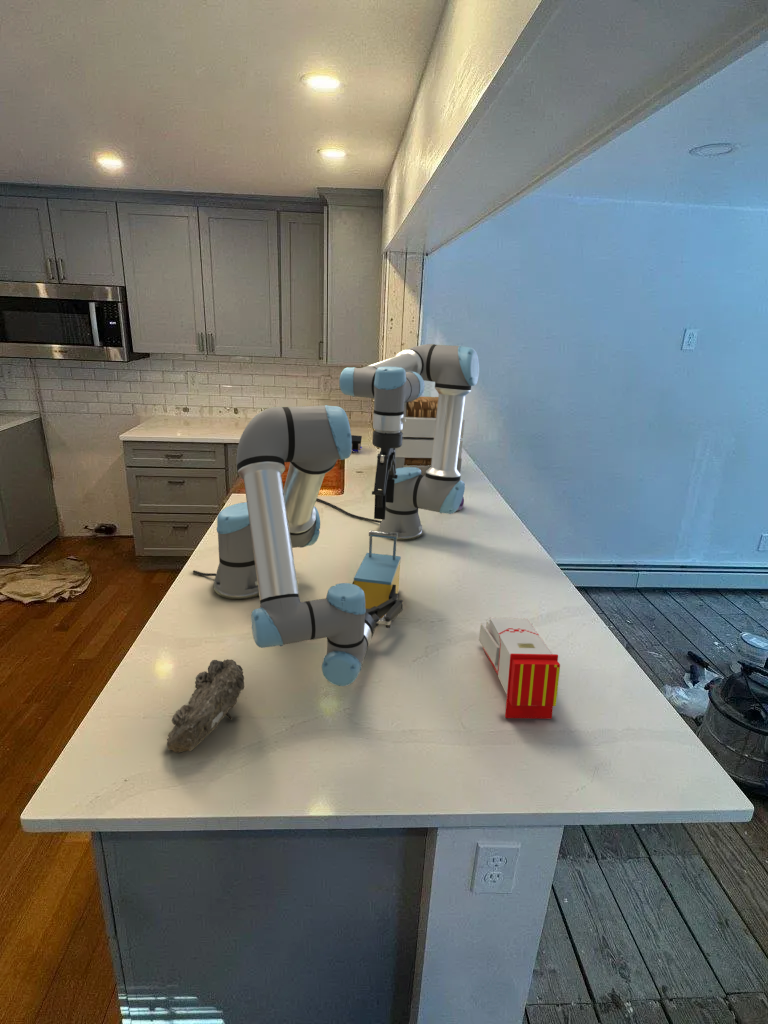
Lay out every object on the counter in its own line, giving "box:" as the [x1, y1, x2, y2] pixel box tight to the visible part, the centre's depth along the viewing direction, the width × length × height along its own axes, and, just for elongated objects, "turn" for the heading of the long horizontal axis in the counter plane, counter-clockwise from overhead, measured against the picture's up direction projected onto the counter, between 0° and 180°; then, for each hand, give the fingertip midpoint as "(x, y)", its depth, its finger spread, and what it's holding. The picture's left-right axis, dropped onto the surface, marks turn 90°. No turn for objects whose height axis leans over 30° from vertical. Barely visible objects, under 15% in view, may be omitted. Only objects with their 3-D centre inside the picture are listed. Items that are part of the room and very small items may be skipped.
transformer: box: [395, 396, 465, 475], centre depth 268 cm, size 34×33×41 cm
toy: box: [478, 616, 561, 720], centre depth 122 cm, size 12×13×30 cm
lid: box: [353, 529, 402, 585], centre depth 148 cm, size 16×10×8 cm, turn 170°
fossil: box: [166, 658, 245, 754], centre depth 106 cm, size 22×10×15 cm
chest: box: [353, 561, 401, 619], centre depth 151 cm, size 16×10×10 cm, turn 170°
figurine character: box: [351, 434, 363, 454], centre depth 310 cm, size 7×8×15 cm
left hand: (374, 587), depth 146 cm, fingers closed on chest, 9 cm apart
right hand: (384, 510), depth 149 cm, fingers open, 13 cm apart
